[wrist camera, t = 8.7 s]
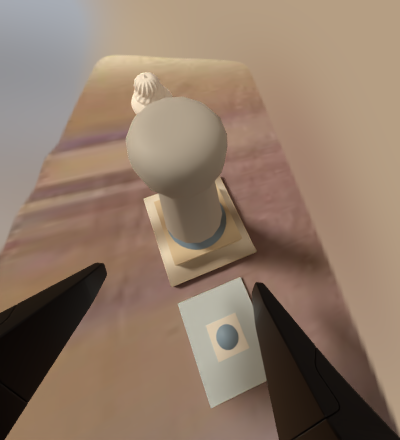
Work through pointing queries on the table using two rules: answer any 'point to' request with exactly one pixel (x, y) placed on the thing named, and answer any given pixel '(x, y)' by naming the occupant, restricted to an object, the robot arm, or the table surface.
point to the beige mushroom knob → (181, 163)
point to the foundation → (204, 251)
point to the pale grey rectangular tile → (224, 340)
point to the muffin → (147, 91)
